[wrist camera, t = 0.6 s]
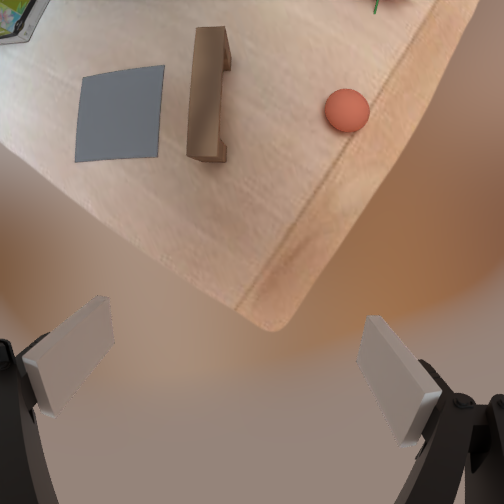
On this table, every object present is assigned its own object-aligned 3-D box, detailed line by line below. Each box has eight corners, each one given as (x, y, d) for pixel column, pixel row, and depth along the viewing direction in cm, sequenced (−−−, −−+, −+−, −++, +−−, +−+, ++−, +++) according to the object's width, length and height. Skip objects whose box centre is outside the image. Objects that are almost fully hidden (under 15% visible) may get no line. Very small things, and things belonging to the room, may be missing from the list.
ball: (321, 92, 35) (330, 80, 30) (361, 98, 35) (375, 87, 30) (320, 132, 37) (330, 125, 31) (361, 137, 37) (376, 131, 31)
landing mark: (83, 78, 35) (82, 77, 35) (164, 65, 35) (164, 65, 35) (75, 162, 38) (74, 162, 37) (157, 156, 38) (157, 156, 37)
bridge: (202, 162, 38) (186, 156, 29) (208, 57, 35) (196, 27, 26) (226, 162, 38) (216, 155, 29) (231, 57, 35) (224, 26, 26)
